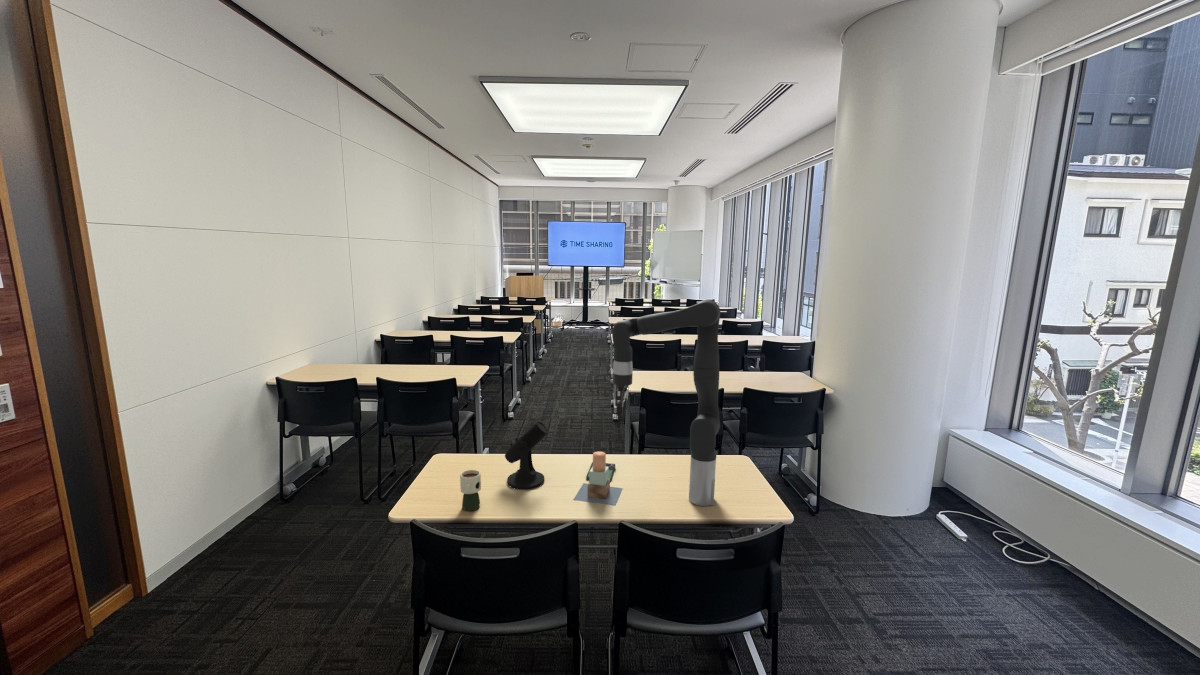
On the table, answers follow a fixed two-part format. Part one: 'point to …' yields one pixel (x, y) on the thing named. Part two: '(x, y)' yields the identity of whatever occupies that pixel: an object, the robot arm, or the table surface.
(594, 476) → the sage block
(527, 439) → the microphone
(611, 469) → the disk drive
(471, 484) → the character mug
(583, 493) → the slate mat
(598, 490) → the walnut block
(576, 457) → the table surface
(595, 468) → the terracotta cylinder
